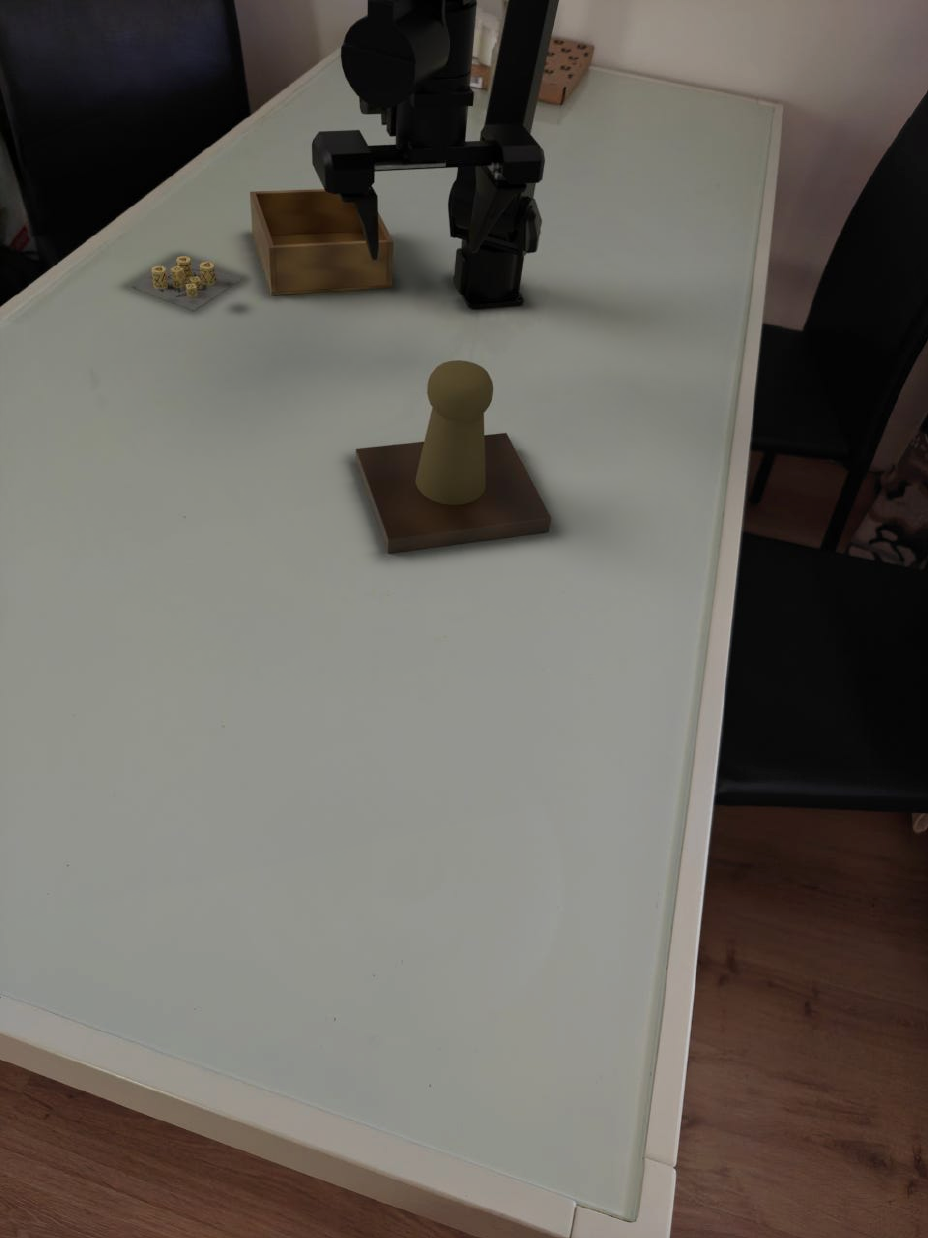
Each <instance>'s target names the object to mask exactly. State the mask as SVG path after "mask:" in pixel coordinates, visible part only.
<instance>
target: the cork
mask: <svg viewBox="0 0 928 1238" xmlns="http://www.w3.org/2000/svg"><path fill="white" fill-rule="evenodd" d="M426 387H427V390H426V394H427V398H428V401H429V404H430V406H431V412H430V417H429V419H428V420H429V421H428V424H427V429H426V433H425V437H424V441H423V442H424V445H423V449H422V454H421V458H420V462H419V466H418V470H417V475H416V481H415V482H416V485H417V488H418V489H419V491H420V492H421V493H422V494H423V495H424V496H426V497H427V498H429V499H431V500H432V501H435V502H438V503H441V504H448V505H460V504H466V503H469V502H472V501H475V500H476V499H477V498H479V497H480V496H481V495H482V494H483V492H484V490H485V485H486V475H485V436H484V435H485V413H486V412H487V410H488V409H489V407H490V405H491V403H492V401H493V397H494V396H493V395H494V382H493V380H492V377H491V375H490V374H489V372H488V371H487V370H486V368H484V367H483V366H481V365H479V364H478V363H475V362H472V361H468V360H461V359H457V360H449V361H445V362H442V363H440V364H439V365H437V366H436V368H434V370H433V371H432V372H431V373H430V375H429V378H428V381H427V386H426Z"/></svg>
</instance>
